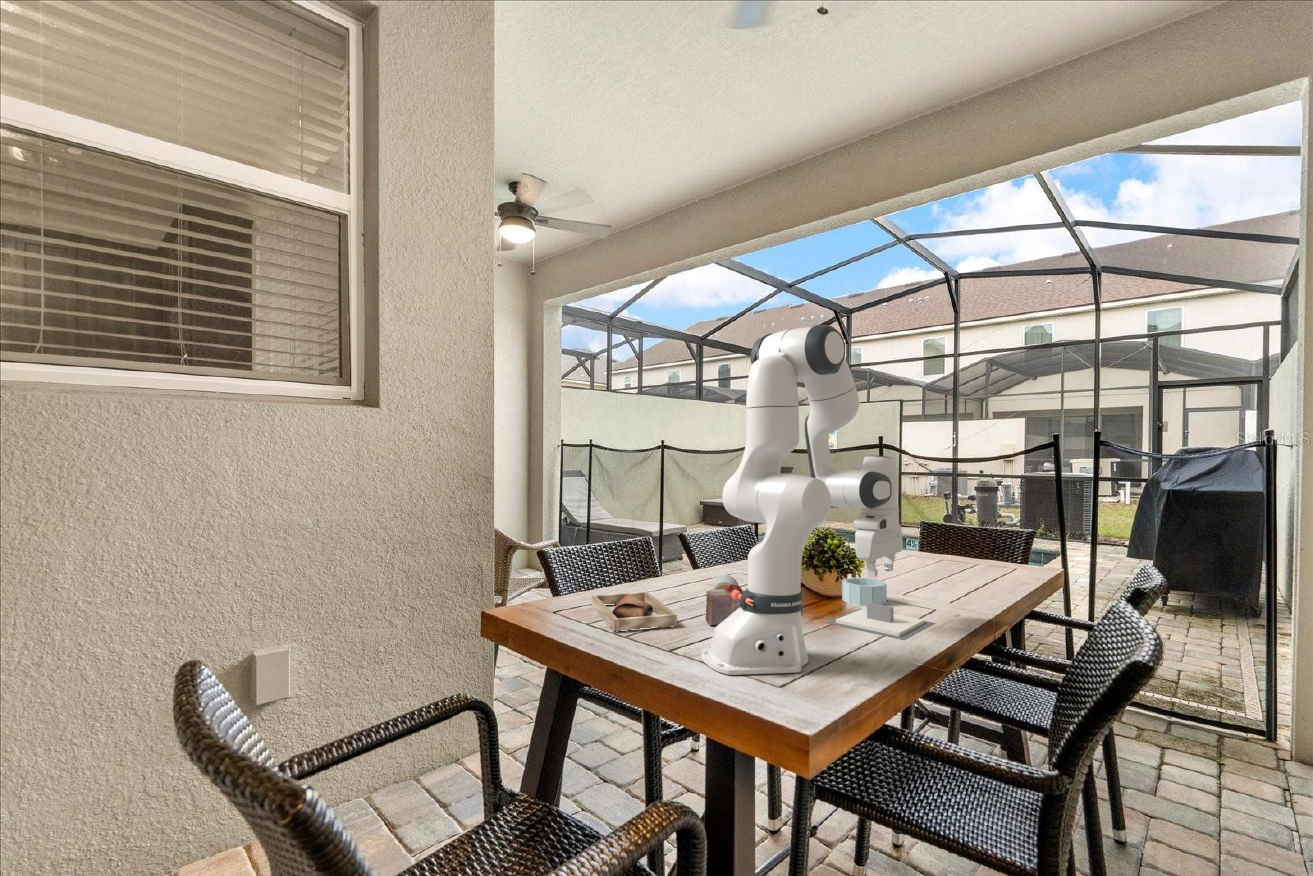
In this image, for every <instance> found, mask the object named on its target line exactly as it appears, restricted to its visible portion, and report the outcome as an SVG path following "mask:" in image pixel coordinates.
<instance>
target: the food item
mask: <svg viewBox="0 0 1313 876" xmlns="http://www.w3.org/2000/svg"><path fill="white" fill-rule="evenodd" d="M734 590H737V591H739V592H741V593H742V594H743V593H744V592H745V591H746V589H742V587H740V585H739V586H737V585H733V584H732V585H730V584H729V585H728V586H726V589H725V590H724V589H720V590H712V589H709V590H708V591H707V592H706V605H705V607H706V608H705V609H706V610H705V622H706V621H707V622H706V623H707V625H708V626H709V625H710V626H709V627H712V626H711V625H719V624H720V623H721V622H722V621H724V620H725V619H726V618H727V617H729V616H730V615H731V614H732V613H733V612H734V611H736V610H737V609H738V608H739V607H740V601H736V600H734V599H733V598H732V597H731V593H732V591H734Z"/></svg>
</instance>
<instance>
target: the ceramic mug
mask: <svg viewBox="0 0 1313 876" xmlns="http://www.w3.org/2000/svg"><path fill="white" fill-rule="evenodd" d="M729 584H730V585H732V584H733V585H737V586H739V587H740V585H739V582H738V581H737V579H735V577H733V576H732V575H729V574H722V575H718V576H717V577H716V578H715V579H714V581H713V585H712V589H711V590H720V589H724V590H725V589H726V586H728V585H729Z"/></svg>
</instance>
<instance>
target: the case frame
mask: <svg viewBox="0 0 1313 876" xmlns="http://www.w3.org/2000/svg"><path fill="white" fill-rule="evenodd" d="M627 593H629V594H631V595H633V596H634V597H636V598H637V599H639V600H641V601H644V602H646V603H649V604H650V605H651V608H652V609H654V610H655V611H656V612H657V613H658V614H660V615H658V614H657V615H647V616H646V615H645V616H643V617H630V618H617V617H616V616H615V615H614V614H613V613H612V612H613V611H612V610H610V609H609V608H608V606H605V605H604V604H618V603H619V602H620V601H621V600H622V599H623V598H624V597H625V595H626V594H627ZM591 596H592V597H591V598H592V599H591V601H592V602H591V603H592V604H591V606H592V605H593V606H594V608H595V609H596V610H597V611H598V612H597V611H596V610H595V609H594V608H593V609H594V610H595V611H596V612H597V614H598V613H599V614H601V616H602V617H603V618H604V619H605V621H606V622H607V623H608V624H609V625H610V627H612V629H613V630H614V631H621V630H631V629H640V628H651V627H671V626H677V627H678V614H676V613H675V612H674V611H673V610H671V609H670V608H668V607H667V606H666V605H664V603H662V602H661V601H659V600H658V599H657V598H655V597H654V596H653V595H652V594H651V593H649V592H648V591H643V592H642V591H641V592H625V593H611V594H610V593H609V594H593V595H591ZM652 609H651V610H652ZM599 614H598V615H599ZM601 616H600V617H601ZM602 617H601V618H602ZM603 618H602V619H603ZM605 621H604V622H605ZM606 622H605V623H606ZM607 623H606V624H607ZM608 624H607V625H608ZM610 627H609V628H610ZM612 629H611V630H612ZM613 630H612V631H613Z"/></svg>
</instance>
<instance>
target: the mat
mask: <svg viewBox="0 0 1313 876" xmlns="http://www.w3.org/2000/svg"><path fill="white" fill-rule="evenodd" d="M861 609H862V608H858V609H856V610H852V611H851V612H848V613H845V614H843V615H840V616H839V617H834V618H833V619H830V620H828V621H825V622H824V623H825V624H828V625H831V626H837V627H843V628H845V629H846V628H847V629H851V630H854V631H859V632H865V633H869V634H874V635H879V636H882V637H888V638H892V639H896V640H899V641H900V640H901V641H906V640H908V639H910V638H911V637H913V636H915V635H917V634H918V633H920V632H922V631H924V630H926V629H927V628H929V627H931V626H933V625H935V624H936V622H932V621H927V620H925V623H924V624H922V625H920V626H918V627H916V628H914V629H912V630H910V631H908V632H906V633H905V634H903V635H901V636H895V635H890V634H886V633H881V632H876V631H872V630H867V629H862V628H858V627H853V626H849V625H844V624H839V623H836V619H838V618H841V617H843V616H846V615H848V614H851V613H853V612H856V611H858V610H861Z"/></svg>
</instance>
